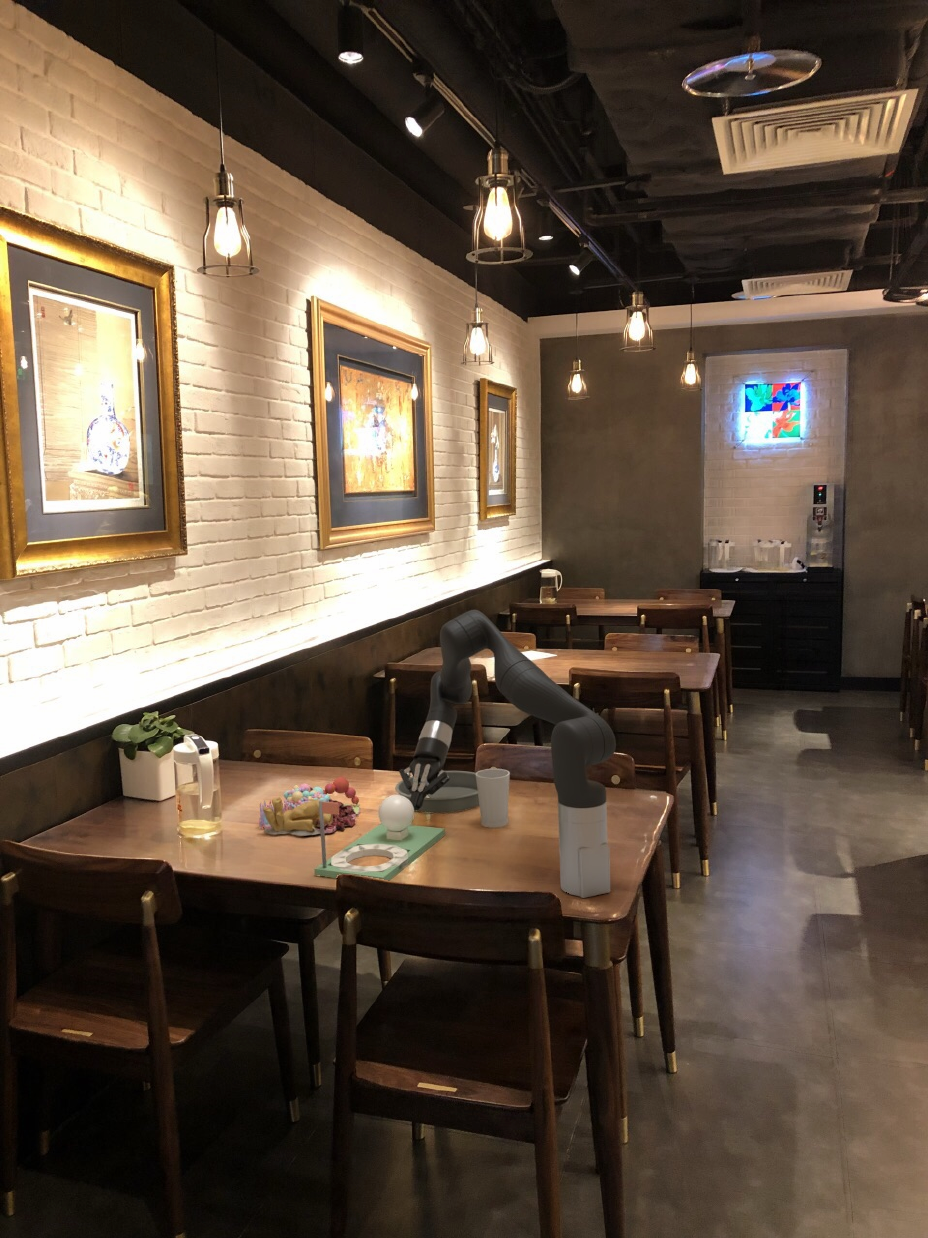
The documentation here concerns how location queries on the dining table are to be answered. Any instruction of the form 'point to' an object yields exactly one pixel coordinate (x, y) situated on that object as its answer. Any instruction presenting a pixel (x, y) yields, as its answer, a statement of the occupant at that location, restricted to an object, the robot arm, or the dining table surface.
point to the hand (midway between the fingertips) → (414, 808)
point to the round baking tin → (448, 794)
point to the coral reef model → (309, 810)
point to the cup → (493, 796)
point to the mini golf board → (376, 848)
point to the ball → (396, 813)
